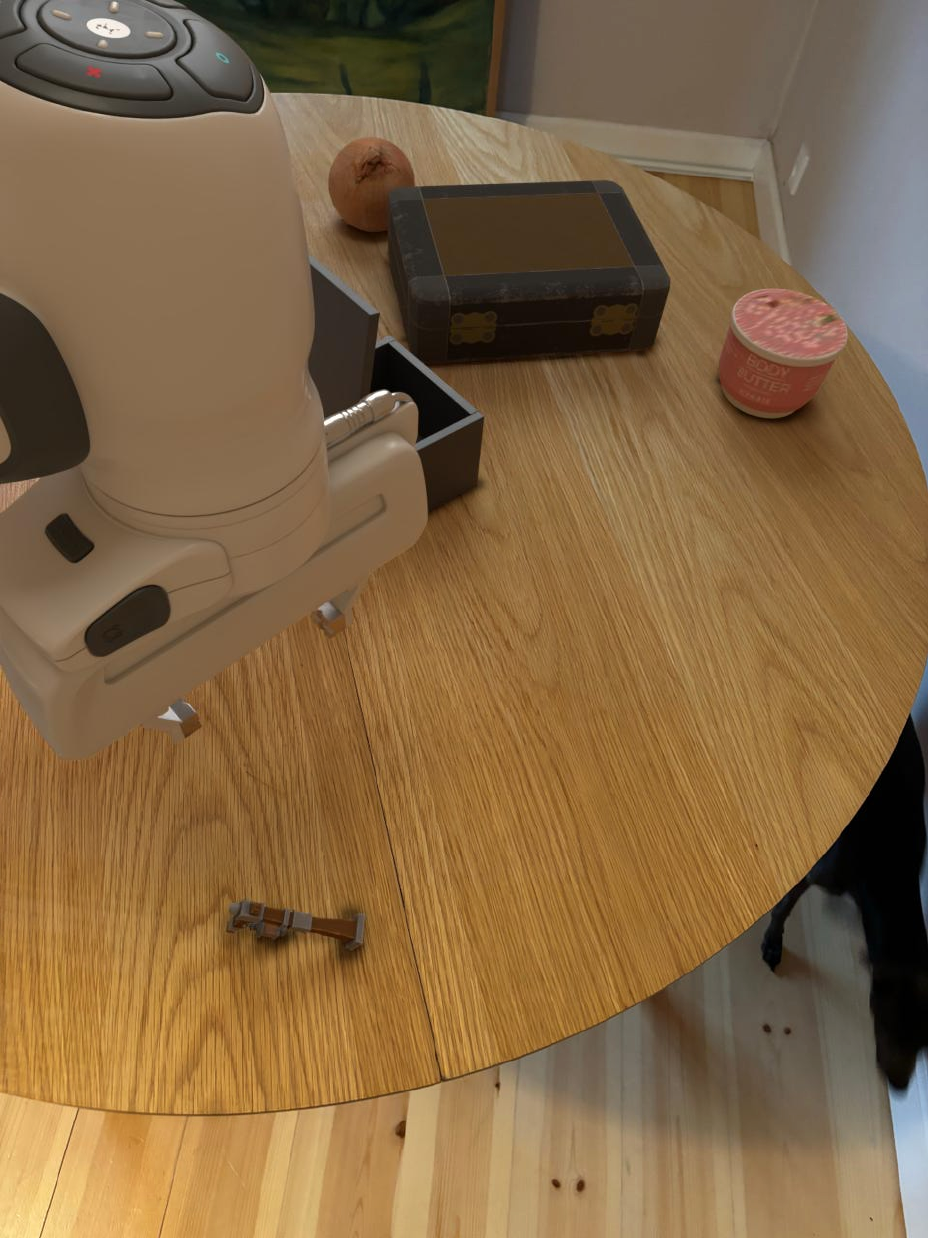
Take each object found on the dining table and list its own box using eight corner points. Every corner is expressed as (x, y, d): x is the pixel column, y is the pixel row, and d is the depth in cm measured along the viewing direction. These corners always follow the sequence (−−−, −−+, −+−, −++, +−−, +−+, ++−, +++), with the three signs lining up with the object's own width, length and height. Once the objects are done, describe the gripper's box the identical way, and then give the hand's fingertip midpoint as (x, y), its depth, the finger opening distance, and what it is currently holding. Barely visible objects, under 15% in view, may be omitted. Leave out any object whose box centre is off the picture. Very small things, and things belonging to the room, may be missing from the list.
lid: (271, 219, 61) (260, 221, 61) (380, 312, 56) (370, 315, 55) (266, 385, 71) (258, 387, 70) (359, 477, 66) (350, 480, 65)
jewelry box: (604, 239, 101) (618, 172, 95) (658, 352, 90) (678, 284, 83) (385, 249, 97) (384, 179, 91) (412, 369, 86) (414, 298, 80)
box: (390, 405, 83) (390, 334, 76) (477, 485, 77) (484, 416, 71) (273, 461, 77) (263, 390, 71) (358, 551, 72) (355, 483, 66)
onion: (383, 265, 101) (387, 211, 91) (312, 220, 100) (308, 162, 91) (427, 203, 102) (435, 144, 93) (358, 159, 102) (359, 95, 92)
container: (837, 410, 86) (873, 341, 80) (751, 440, 83) (782, 371, 76) (769, 347, 91) (797, 277, 85) (686, 373, 88) (709, 302, 82)
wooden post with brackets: (215, 909, 54) (236, 887, 50) (339, 931, 57) (366, 912, 53) (209, 939, 53) (230, 919, 49) (335, 960, 56) (363, 943, 52)
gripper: (369, 338, 40) (375, 538, 52) (-78, 566, 31) (47, 748, 43) (464, 411, 38) (449, 604, 49) (8, 681, 29) (117, 842, 40)
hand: (259, 673), depth 46 cm, fingers open, 8 cm apart
